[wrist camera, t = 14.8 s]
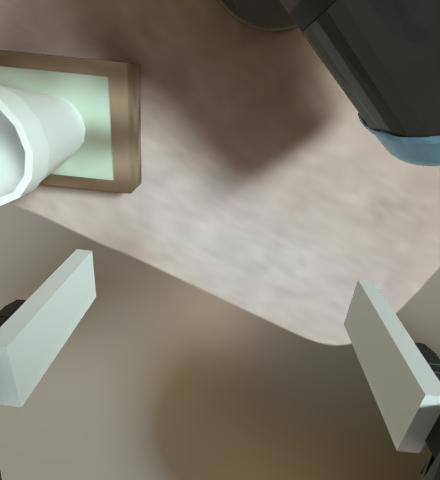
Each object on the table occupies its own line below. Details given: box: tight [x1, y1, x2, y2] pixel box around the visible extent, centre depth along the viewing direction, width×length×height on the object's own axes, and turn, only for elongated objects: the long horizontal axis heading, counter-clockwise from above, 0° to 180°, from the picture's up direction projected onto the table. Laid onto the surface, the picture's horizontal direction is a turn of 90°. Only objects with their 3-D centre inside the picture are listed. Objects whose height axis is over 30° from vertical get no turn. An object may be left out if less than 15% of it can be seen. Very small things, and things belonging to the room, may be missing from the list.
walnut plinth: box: [0, 50, 141, 194], centre depth 39 cm, size 14×16×5 cm
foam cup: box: [0, 86, 85, 206], centre depth 31 cm, size 10×9×13 cm
